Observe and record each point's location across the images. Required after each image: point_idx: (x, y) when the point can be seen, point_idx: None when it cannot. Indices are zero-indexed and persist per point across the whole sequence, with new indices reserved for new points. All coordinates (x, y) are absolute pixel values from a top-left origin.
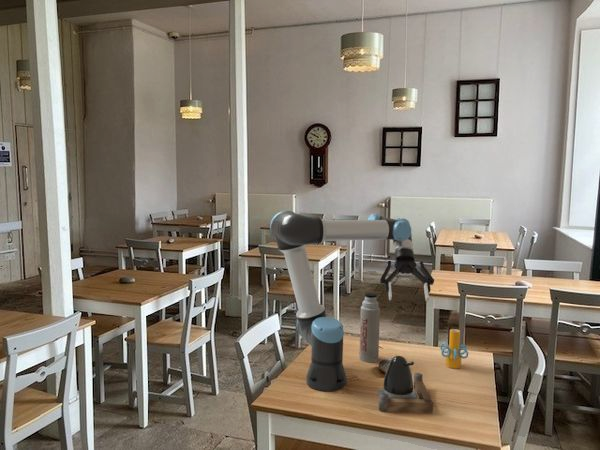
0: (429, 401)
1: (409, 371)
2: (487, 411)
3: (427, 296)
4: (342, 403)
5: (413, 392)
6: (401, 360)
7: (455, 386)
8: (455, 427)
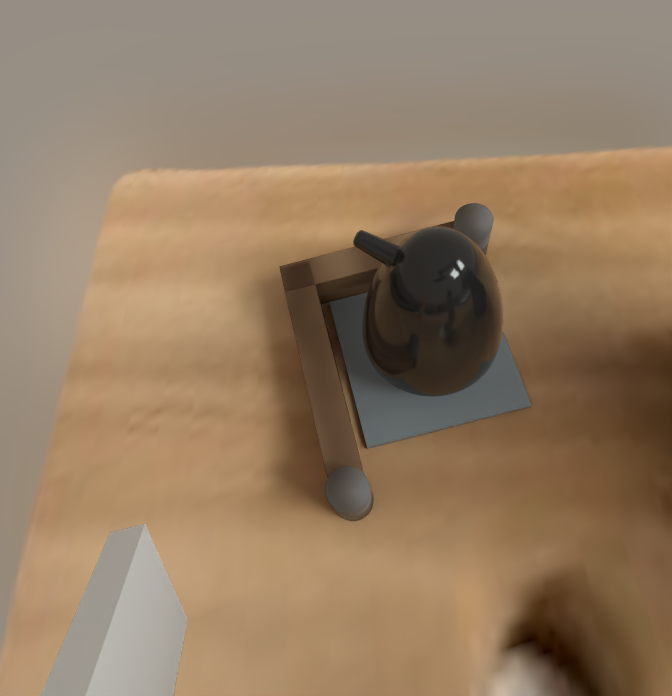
0: (293, 275)
1: (377, 271)
2: (85, 368)
3: (126, 545)
4: (634, 248)
5: (368, 428)
6: (421, 232)
7: (172, 580)
8: (216, 224)
